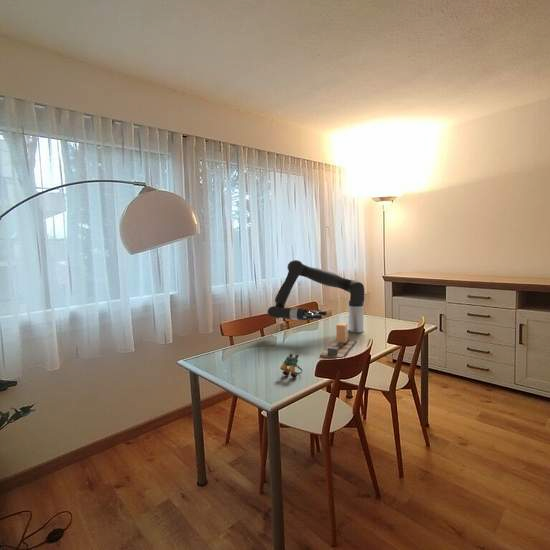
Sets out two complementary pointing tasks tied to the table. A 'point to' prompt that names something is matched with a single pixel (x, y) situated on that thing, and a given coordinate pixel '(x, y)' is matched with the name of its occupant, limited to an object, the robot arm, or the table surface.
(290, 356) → the green yellow plastic figure
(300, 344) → the table surface
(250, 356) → the table surface
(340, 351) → the track
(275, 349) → the table surface
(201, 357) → the table surface
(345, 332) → the tan wooden tall block
